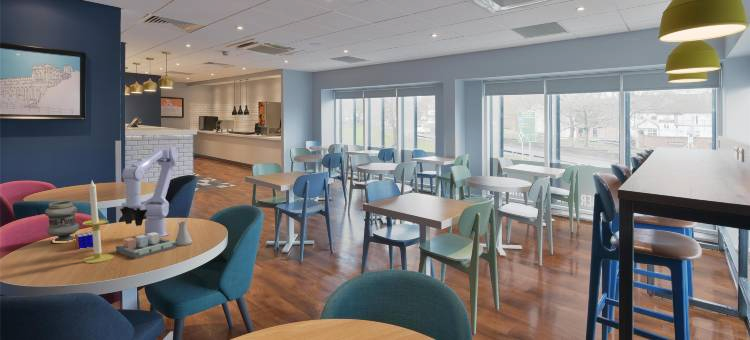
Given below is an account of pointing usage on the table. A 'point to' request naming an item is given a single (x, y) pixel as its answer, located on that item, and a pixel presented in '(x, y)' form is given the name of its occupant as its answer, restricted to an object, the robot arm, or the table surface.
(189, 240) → the flask
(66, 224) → the apothecary jar
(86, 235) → the rubik's cube
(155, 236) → the pale grey square block
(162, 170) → the robot arm
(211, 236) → the table surface
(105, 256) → the candle
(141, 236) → the pale blue tilted box
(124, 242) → the clay pink cube
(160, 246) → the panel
